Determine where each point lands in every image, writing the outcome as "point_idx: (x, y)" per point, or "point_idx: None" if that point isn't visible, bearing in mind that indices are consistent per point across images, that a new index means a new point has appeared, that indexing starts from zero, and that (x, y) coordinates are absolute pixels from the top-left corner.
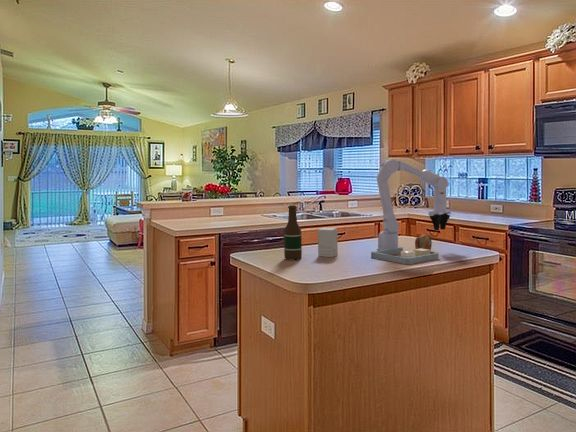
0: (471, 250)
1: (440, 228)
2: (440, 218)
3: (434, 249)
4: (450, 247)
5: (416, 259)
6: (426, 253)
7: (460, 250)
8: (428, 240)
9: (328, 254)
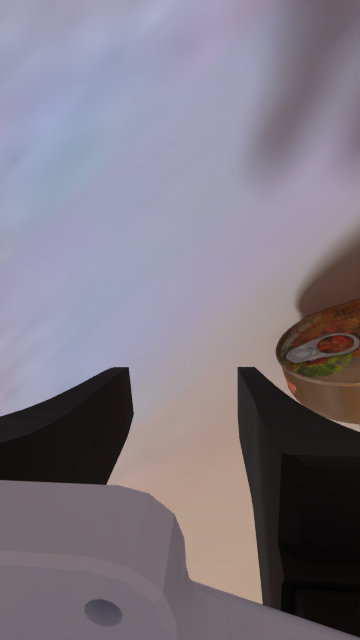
0: (21, 161)
1: (130, 420)
2: (299, 440)
3: (204, 353)
4: (54, 338)
5: None
6: None
7: (89, 213)
8: (348, 354)
9: None
